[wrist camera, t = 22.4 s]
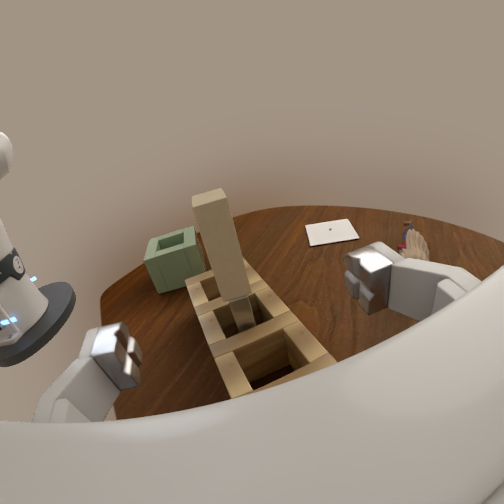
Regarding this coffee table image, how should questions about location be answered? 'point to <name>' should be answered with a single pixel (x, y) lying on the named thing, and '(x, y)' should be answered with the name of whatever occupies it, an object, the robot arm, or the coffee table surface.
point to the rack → (254, 336)
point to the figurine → (413, 244)
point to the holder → (174, 259)
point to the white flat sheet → (330, 232)
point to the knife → (224, 254)
